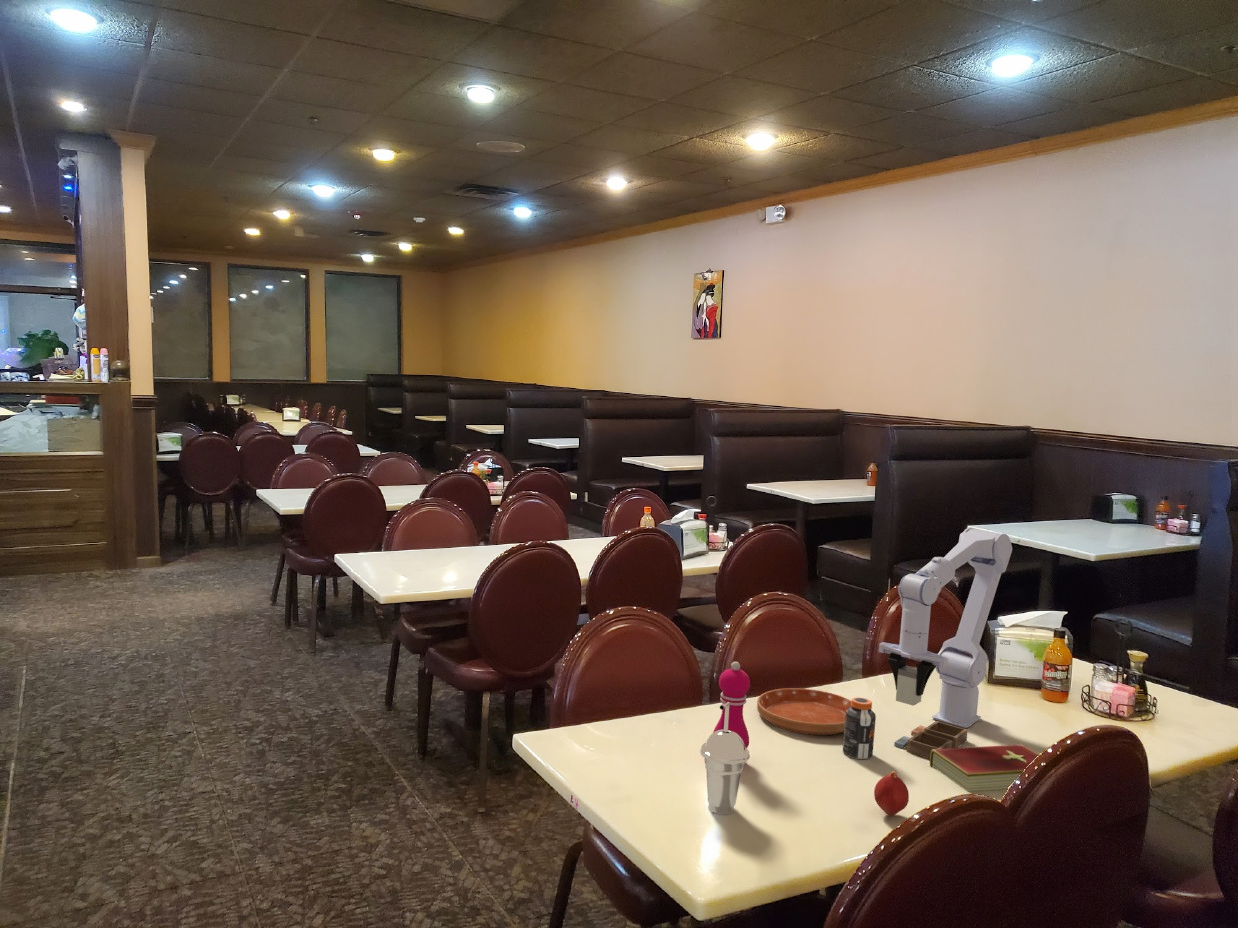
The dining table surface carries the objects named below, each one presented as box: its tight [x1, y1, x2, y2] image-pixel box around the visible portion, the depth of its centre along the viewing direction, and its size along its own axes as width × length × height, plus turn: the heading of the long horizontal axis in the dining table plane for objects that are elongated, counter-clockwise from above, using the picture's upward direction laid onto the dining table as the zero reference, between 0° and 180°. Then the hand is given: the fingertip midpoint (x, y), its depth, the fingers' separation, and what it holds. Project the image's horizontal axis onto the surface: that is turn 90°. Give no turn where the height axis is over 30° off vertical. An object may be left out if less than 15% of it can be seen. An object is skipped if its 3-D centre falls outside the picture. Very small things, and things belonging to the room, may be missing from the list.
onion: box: [873, 771, 910, 817], centre depth 156 cm, size 6×6×8 cm
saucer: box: [756, 687, 852, 736], centre depth 201 cm, size 23×23×4 cm
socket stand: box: [893, 720, 968, 760], centre depth 190 cm, size 16×10×2 cm, turn 140°
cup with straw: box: [699, 701, 750, 815], centre depth 155 cm, size 8×9×20 cm
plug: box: [895, 665, 923, 707], centre depth 194 cm, size 4×4×7 cm
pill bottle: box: [842, 696, 877, 760], centre depth 182 cm, size 6×6×11 cm
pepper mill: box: [712, 661, 751, 765], centre depth 175 cm, size 7×7×20 cm
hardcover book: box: [929, 744, 1040, 792], centre depth 176 cm, size 12×21×4 cm, turn 104°
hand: (909, 691), depth 194 cm, fingers closed on plug, 4 cm apart
